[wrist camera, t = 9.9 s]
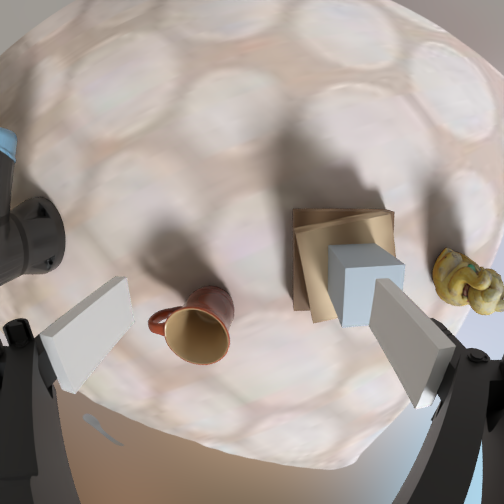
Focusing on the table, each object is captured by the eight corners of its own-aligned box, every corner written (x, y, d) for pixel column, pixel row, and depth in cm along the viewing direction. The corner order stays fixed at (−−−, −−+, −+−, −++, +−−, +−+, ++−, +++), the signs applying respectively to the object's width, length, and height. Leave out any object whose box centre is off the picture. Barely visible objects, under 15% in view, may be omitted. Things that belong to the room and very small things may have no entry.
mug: (240, 280, 43) (229, 311, 33) (239, 330, 45) (229, 368, 35) (166, 274, 44) (138, 300, 34) (170, 323, 46) (146, 356, 36)
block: (327, 292, 34) (342, 327, 26) (328, 245, 33) (345, 268, 24) (372, 289, 34) (398, 322, 25) (375, 243, 32) (405, 264, 24)
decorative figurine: (473, 262, 38) (525, 292, 24) (452, 302, 41) (497, 343, 26) (439, 238, 38) (495, 266, 24) (417, 283, 40) (463, 326, 26)
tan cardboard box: (292, 299, 44) (293, 310, 40) (292, 208, 40) (293, 211, 36) (377, 296, 42) (385, 306, 38) (384, 208, 39) (394, 212, 35)
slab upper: (310, 309, 39) (313, 323, 36) (294, 228, 37) (295, 233, 33) (388, 291, 38) (398, 302, 34) (379, 210, 35) (390, 214, 31)
